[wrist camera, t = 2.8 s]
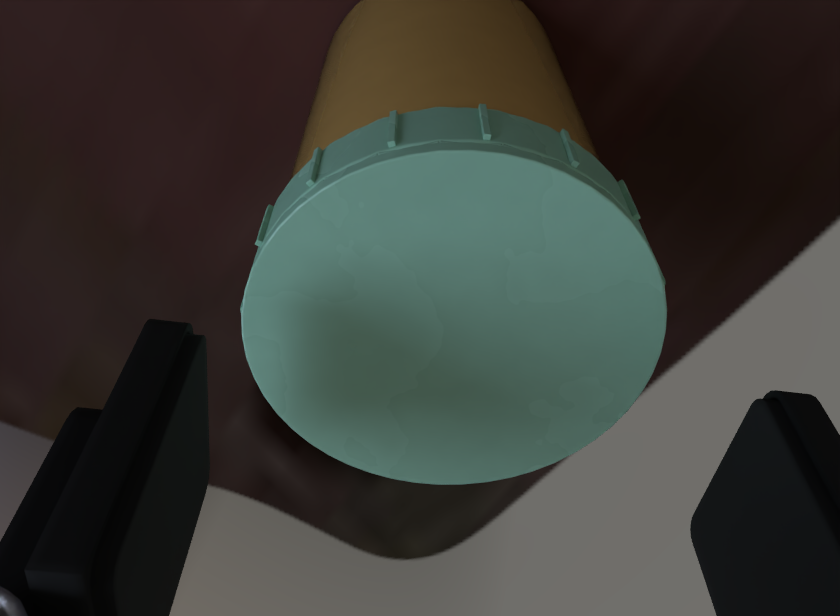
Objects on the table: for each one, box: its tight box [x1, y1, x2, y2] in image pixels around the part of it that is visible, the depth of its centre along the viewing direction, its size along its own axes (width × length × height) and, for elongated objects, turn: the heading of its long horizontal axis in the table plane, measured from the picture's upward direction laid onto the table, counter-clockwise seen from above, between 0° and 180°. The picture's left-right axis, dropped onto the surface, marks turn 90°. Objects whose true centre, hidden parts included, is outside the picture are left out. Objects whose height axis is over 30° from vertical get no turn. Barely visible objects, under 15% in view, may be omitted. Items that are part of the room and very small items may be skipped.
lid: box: [240, 104, 667, 485], centre depth 13 cm, size 7×7×2 cm
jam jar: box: [290, 0, 601, 181], centre depth 17 cm, size 6×6×10 cm
